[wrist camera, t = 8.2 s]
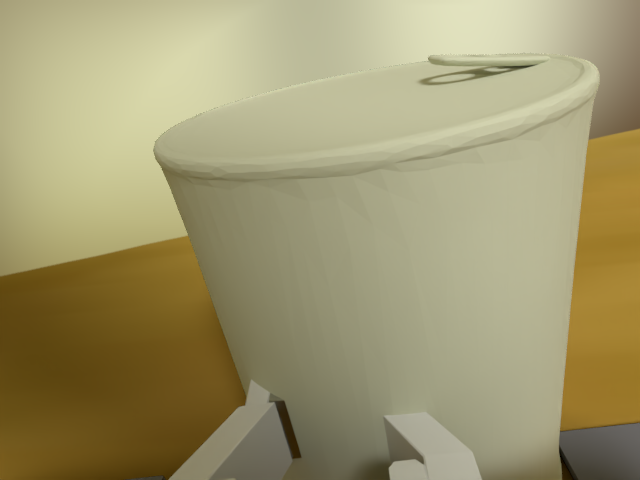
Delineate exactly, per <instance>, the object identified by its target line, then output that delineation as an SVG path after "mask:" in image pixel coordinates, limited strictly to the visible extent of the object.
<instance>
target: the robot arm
mask: <svg viewBox="0 0 640 480" xmlns="http://www.w3.org/2000/svg"><path fill="white" fill-rule="evenodd" d="M383 418H384V425H385V431H386V437H387V443H388V449H389V455H390V461H391V466H390V467H389V475H390V480H482V478H481V475H480V472H479V469H478V466H477V464H476V461H475V458H474V455H473V452H472V451H471V450H470V449H469V448H467V447H466V446H465V445H464V444H463V443H462V442H460V441H459V440H458V439H457V438H456V437H455V436H454V435H452V434H451V433H450V432H449V431H448V430H447V429H446V428H444V427H443V426H442V425H441V424H440V423H439V422H437V421H436V420H435V419H434V418H433V417H432V416H431V415H429V414H428V413H427V412H421V413H413V414H402V415H386V416H383ZM296 458H302V457H301V453H300V450H299V446H298V443H297V440H296V437H295V433H294V430H293V427H292V424H291V420H290V417H289V414H288V411H287V407H286V404H285V401H284V400H283V399H281V398H279V397H277V396H275V395H273V394H272V393H269V392H268V391H267V390H265V389H263V388H262V387H261V386H259V385H258V384H257V383H255V382H254V381H253V380H252V379H251V380H250V385H249V389H248V394H247V398H246V403H245V406H240V407H238V408H237V409H236V410H235V411H234V412H233V413H232V414H231V415H230V416H229V417H228V418H227V420H226V421H225V422H224V423H223V424H222V425H221V426H220V427H219V428H218V429H217V430H216V431H215V432H214V433H213V434H212V435H211V436H210V437H209V438H208V439H207V440H206V441H205V442H204V443H203V444H202V445H201V446H200V447H199V448H198V450H197V451H196V452H195V453H194V454H193V455H192V456H191V457H190V458H189V459H188V460H187V461H186V462H185V463H184V464H183V465H182V466H181V467H180V468H179V469H178V470H177V471H176V472H175V473H174V474H173V475H172V476H171V477H170V478H169V480H282V478H283V476H284V475H285V473H286V471H287V470H288V468H289V466H290V465H291V463H292V462H293V461H292V459H296Z"/></svg>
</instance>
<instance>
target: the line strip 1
mask: <svg viewBox="0 0 640 480" xmlns="http://www.w3.org/2000/svg"><path fill="white" fill-rule="evenodd" d="M126 480H165V478H164V476H153V477H144V478H135V479H126Z"/></svg>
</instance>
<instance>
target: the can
mask: <svg viewBox="0 0 640 480" xmlns="http://www.w3.org/2000/svg"><path fill="white" fill-rule="evenodd" d="M428 60H429V61H424V62H416V63H409V64H402V65H395V66H389V67H383V68H376V69H370V70H365V71H360V72H355V73H350V74H344V75H339V76H334V77H329V78H324V79H320V80H315V81H311V82H307V83H302V84H298V85H293V86H290V87H285V88H281V89H277V90H273V91H270V92H266V93H263V94H259V95H256V96H252V97H248V98H245V99H242V100H238V101H235V102H232V103H229V104H226V105H223V106H220V107H217V108H214V109H211V110H209V111H206V112H203V113H201V114H198V115H196V116H194V117H192V118H190V119H188V120H185V121H183V122H181V123H179V124H177V125H175V126H173V127H172V128H170V129H168V130H167V131H166V132H164V133H163V134H162V135H161V136H160V137H159V138H158V139H157V140H156V142H155V146H154V150H153V151H154V155H155V158H156V160H157V162H158V163H159V165H160V166H161V168H162V170H163V173H164V175H165V177H166V180H167V182H168V184H169V186H170V189H171V191H172V194H173V197H174V199H175V202H176V204H177V207H178V210H179V212H180V215H181V217H182V220H183V222H184V225H185V228H186V230H187V233H188V236H189V238H190V241H191V243H192V246H193V249H194V252H195V255H196V257H197V260H198V263H199V266H200V269H201V271H202V274H203V277H204V280H205V283H206V285H207V288H208V291H209V294H210V297H211V299H212V302H213V305H214V308H215V311H216V313H217V316H218V319H219V322H220V325H221V327H222V330H223V333H224V336H225V339H226V341H227V344H228V347H229V350H230V352H231V355H232V358H233V361H234V364H235V366H236V369H237V372H238V375H239V378H240V380H241V383H242V386H243V389H244V392H245V394H246V397H247V394H248V389H249V385H250V380H251V379H252V380H253V381H254V382H255V383H257V384H258V385H259V386H261V387H262V388H263V389H265V390H267V391H268V392H269V393H272V394H273V395H275V396H277V397H279V398H281V399H283V400H284V401H285V404H286V407H287V411H288V414H289V417H290V420H291V424H292V427H293V430H294V433H295V437H296V440H297V443H298V446H299V450H300V453H301V457H302V458H296V459H292V461H293V462H292V463H291V465H290V466H289V468H288V470H287V471H286V473H285V475H284V476H283V478H282V480H390V475H389V467H390V466H391V461H390V455H389V449H388V443H387V437H386V431H385V425H384V418H383V416H386V415H402V414H413V413H421V412H427V413H428V414H429V415H431V416H432V417H433V418H434V419H435V420H436V421H437V422H439V423H440V424H441V425H442V426H443V427H444V428H446V429H447V430H448V431H449V432H450V433H451V434H452V435H454V436H455V437H456V438H457V439H458V440H459V441H460V442H462V443H463V444H464V445H465V446H466V447H467V448H469V449H470V450H471V451H472V452H473V455H474V458H475V461H476V464H477V466H478V469H479V472H480V475H481V478H482V480H562V469H561V461H560V455H559V436H560V422H561V409H562V395H563V384H564V373H565V362H566V351H567V340H568V329H569V318H570V307H571V296H572V285H573V274H574V265H575V255H576V246H577V236H578V227H579V217H580V208H581V199H582V189H583V180H584V170H585V161H586V152H587V144H588V137H589V130H590V122H591V115H592V108H593V101H594V98H595V95H596V92H597V89H598V86H599V81H600V76H599V72H598V69H597V68H596V67H595V65H593V63H591V62H589V61H586V60H583V59H580V58H576V57H571V56H565V55H557V54H534V53H520V54H496V55H431V56H430V57H429V58H428Z"/></svg>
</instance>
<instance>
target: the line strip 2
mask: <svg viewBox="0 0 640 480" xmlns="http://www.w3.org/2000/svg"><path fill="white" fill-rule="evenodd" d="M559 453H560V455H561V457H562V458H563V460H564V462H565V464H566V466H567V468H568V469H569V471H570V473H571V475H572V477H573V479H574V480H640V423H635V424H626V425H617V426H608V427H599V428H590V429H581V430H572V431H562V432H560V436H559Z"/></svg>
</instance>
